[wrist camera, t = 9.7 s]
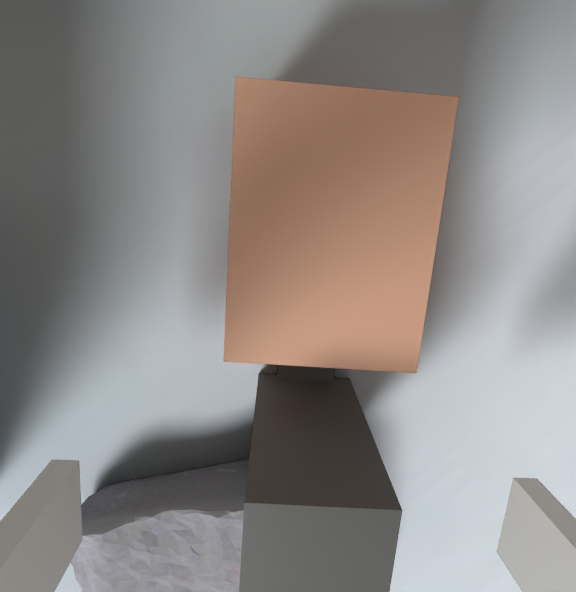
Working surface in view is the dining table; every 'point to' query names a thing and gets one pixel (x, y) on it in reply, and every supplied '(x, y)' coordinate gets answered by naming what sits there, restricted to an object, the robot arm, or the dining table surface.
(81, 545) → the stone block
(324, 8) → the dining table surface
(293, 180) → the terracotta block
